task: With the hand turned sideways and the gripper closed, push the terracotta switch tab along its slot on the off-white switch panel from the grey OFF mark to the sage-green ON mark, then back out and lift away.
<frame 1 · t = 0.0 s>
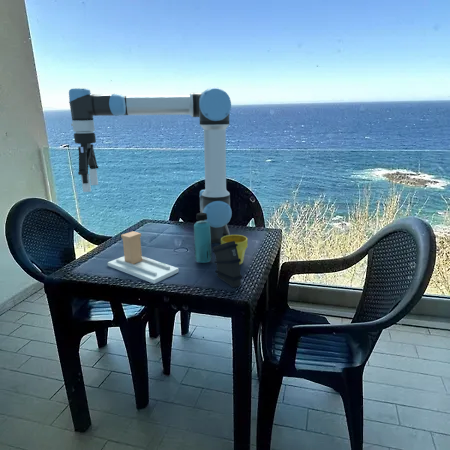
hand: (91, 188, 143), 28 cm above the table, tool pointing down, fingers open, 13 cm apart
plant pot: (234, 262, 142), on the table
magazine: (226, 280, 127), on the table
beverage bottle: (203, 263, 141), on the table
switch tab: (132, 247, 137), point 7 cm above the table, slide at 0.0 cm
switch panel: (142, 268, 136), on the table
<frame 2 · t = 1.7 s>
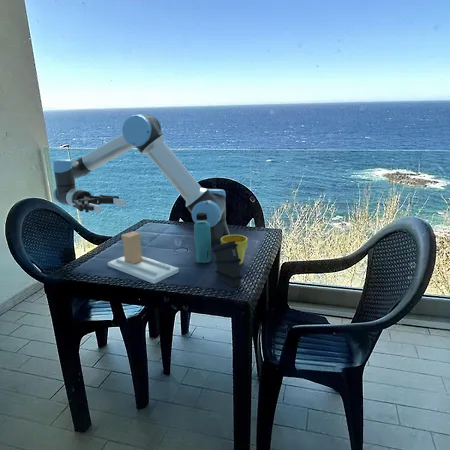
hand: (112, 206, 139), 22 cm above the table, tool horizontal, fingers open, 10 cm apart
nothing on the table moved.
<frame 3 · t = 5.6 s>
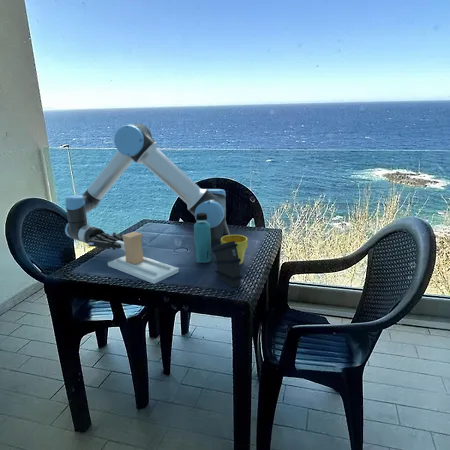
hand: (128, 247, 138), 7 cm above the table, tool horizontal, fingers closed
switch tab: (133, 248, 137), point 7 cm above the table, slide at 0.7 cm, touching gripper
everything else where it was.
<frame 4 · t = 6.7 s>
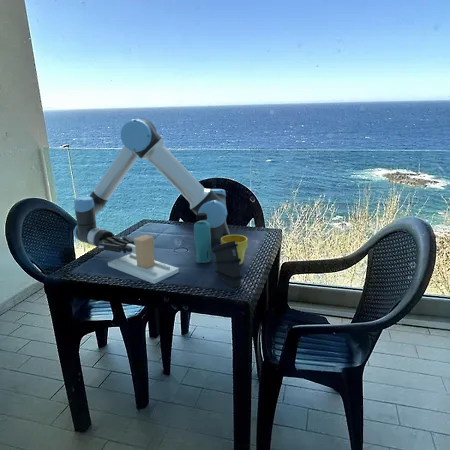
hand: (139, 251, 134), 7 cm above the table, tool horizontal, fingers closed
switch tab: (144, 251, 133), point 7 cm above the table, slide at 7.1 cm, touching gripper
everything else where it was.
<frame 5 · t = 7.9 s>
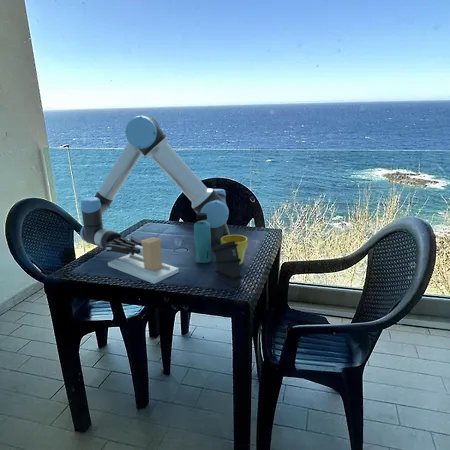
hand: (147, 252, 132), 7 cm above the table, tool horizontal, fingers closed
switch tab: (152, 254, 131), point 7 cm above the table, slide at 11.1 cm, touching gripper
everything else where it was.
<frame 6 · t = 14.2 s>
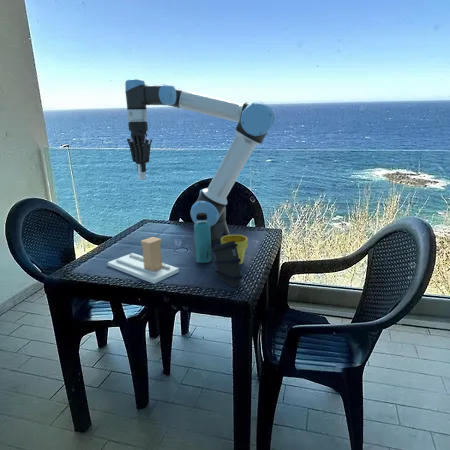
hand: (142, 179, 152), 29 cm above the table, tool pointing down, fingers closed
switch tab: (152, 254, 131), point 7 cm above the table, slide at 11.0 cm
everything else where it was.
at the end: switch tab slide at 11.0 cm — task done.
